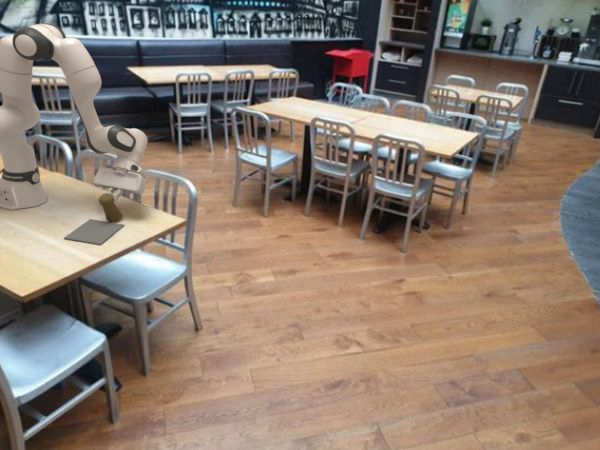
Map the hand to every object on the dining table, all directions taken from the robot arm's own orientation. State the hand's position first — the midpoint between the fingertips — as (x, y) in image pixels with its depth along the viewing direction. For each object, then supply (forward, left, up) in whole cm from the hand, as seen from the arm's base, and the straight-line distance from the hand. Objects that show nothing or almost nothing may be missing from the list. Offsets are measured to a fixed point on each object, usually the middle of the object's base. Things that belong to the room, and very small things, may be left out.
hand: (112, 200), depth 174 cm
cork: (0, 0, -7) cm, 8 cm away
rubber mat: (-1, -12, -8) cm, 14 cm away
